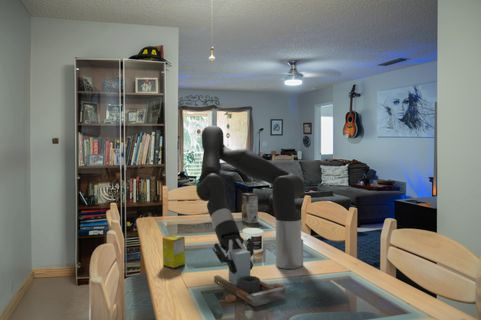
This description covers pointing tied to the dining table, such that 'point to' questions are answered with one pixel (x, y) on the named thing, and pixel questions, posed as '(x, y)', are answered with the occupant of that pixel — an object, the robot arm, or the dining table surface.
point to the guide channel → (256, 298)
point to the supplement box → (173, 251)
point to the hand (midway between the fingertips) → (242, 270)
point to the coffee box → (249, 207)
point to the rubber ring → (249, 284)
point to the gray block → (240, 265)
